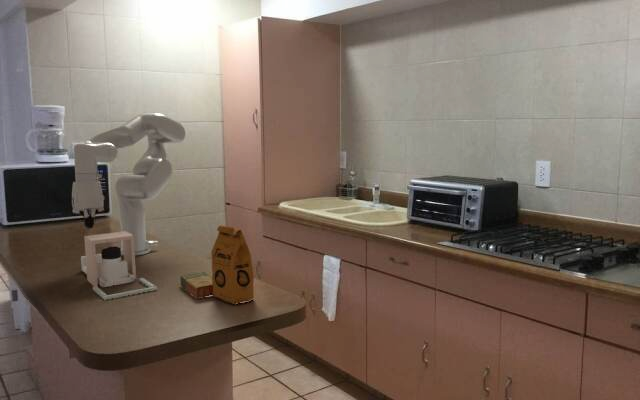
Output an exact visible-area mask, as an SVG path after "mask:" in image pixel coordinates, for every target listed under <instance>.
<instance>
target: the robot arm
mask: <svg viewBox="0 0 640 400" xmlns="http://www.w3.org/2000/svg"><path fill="white" fill-rule="evenodd" d="M146 136H147V143H148V146H147V150H146V151H145V152H144V153H143V155H142V156H141V157H140V158H139V159H138V160H137V162H136V163H135V164H134V166H133V169H132V173H133V174H126V175H121V176H120V177H118V178H117V180H116V182H115V187H114V188H115V193H116V197H117V202H118V207H119V209H118V210H119V222H120V232H123V231H126V232H128V233H130V234H132V235H134V249H135V257H136V256H141V255H142V256H143V255H146V254H149V253H150V252H151V249H152V248H151V247H156V246H159V241H158V240H147V237H146V236H147V234H146V215H145V214H146V213H145V205H144V204H143V202H142V200H144V201H145V200H147V201H149V200H153V199H155V197H157V196H158V195H159V194H160V193H161V191H162V190H163V188H165V186H166V185H167V184H168V182H169V180H170V179H171V177H172V173H173V166H172V163H171V162H170V161H169V160H168V159H167V157H168V155H167V151H166V149H165V145H164V144H180V143H181V142H183V141H184V139H185V137H186V129H185V127H184V126H183V124H181V123H180V122H178V121H176V120H174V119H173V118H171V117H168V116H167V115H164V114H162V113H140V114H138V115H136V116H134V117H133V118H131V119H130V120H128V121H127V122H125V123H123V124H122V125H120V126H118V127H114V128H112V129H110V130H107V131H104V132H102V133H99V134H97V135H94V136H92V137H91V138H89V139H88V140H86V141H85V142H84V143H77V144H75V145H74V146H73V159H74V173H75V174H74V176H75V181H72V188H71V189H72V190H71V205H72V206H71V207H72V213H73V214H79V215H80V216H82V217H83V223H84V227H85V228H86V229H93V228H94V226H95V216H96V215H97V214H98V213H99V212H103V211H104V210H105V207H104V195H103V188H102V185H101V181H100V180H99V179H102V178H103V174H102V173H99V171H98V163H102V164H108V163H112V162H114V161H116V159H117V158H118V156H119V151H118V150H119V149H123V148H124V149H125V148H128V147H132V146H134V145H135V144H136V143H138V142H139V141H141V140H142V139H144V138H145V137H146ZM88 210H89V215H88ZM120 243H121V248H120V249H121V256H123V257H124V252H123V240H122V241H120Z"/></svg>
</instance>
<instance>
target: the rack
mask: <svg viewBox="0 0 640 400" xmlns="http://www.w3.org/2000/svg"><path fill="white" fill-rule="evenodd" d="M80 262H81V271H82V272H84V274H86V275H87V268H86V255H83V256H80ZM98 262H102V254H101V253H97V254H96V263H98ZM97 281H98V286H100V287H101V288H107V287H114V286H119V285H124V284H130V283H134V282H135V280H134V276H133V275H132V274H130V273H129V272H128V278H122V279H117V280H113V281H105V280H104V279H102V278H101V277H97ZM113 285H114V286H113Z"/></svg>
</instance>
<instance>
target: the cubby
mask: <svg viewBox="0 0 640 400" xmlns="http://www.w3.org/2000/svg"><path fill="white" fill-rule="evenodd" d="M83 239H84V253H85V256H86V268H87V274H86V278H87V279H86V281H87V282H88V283H89V284H90V285H92V287H94V286H97V287H99V284H98V281H97V266H96V245H98V244H105V243H112V242H113V243H114V242H121V241H122V240H123V252H124V256H123V261H127V266H128V272H129V273H130V274H132V275H133V276H134V281H135V279H136V280H137V268H136V267H137V266H136V256H135V249H134V235H132V234H130V233H128V232H126V231H123V232H121V231H115V232H108V233H99V234H93V235H90V234H89V235H84V237H83Z"/></svg>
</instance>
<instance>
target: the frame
mask: <svg viewBox="0 0 640 400" xmlns="http://www.w3.org/2000/svg"><path fill="white" fill-rule="evenodd" d="M139 282H140V283H141V282H142V283H141V284H142V285H144V284H145V285H144V286H145V287H144V288H140V289H134V290H129V291H125V292H119V293H113V294H108V295H107V294H106V292H104V291H103V290H102V289H101V288H99V286H92V291H93V292H95V293H96V294H97V295H98V296H99V297H100V298H101V299H103V301H108V300H112V298H113V299H118V298H123V296H124V297H129V296H133V294H134V295H138V293H140V294H144V293H143V292H145V293H149V292H148V291H150V292H155V291H158V286H156V285H155V284H153V283H152V282H150V281H149V280H147V279H145V278H144V277H140V278H139ZM147 286H148V287H147ZM154 290H155V291H154ZM128 295H129V296H128ZM107 299H108V300H107Z"/></svg>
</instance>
